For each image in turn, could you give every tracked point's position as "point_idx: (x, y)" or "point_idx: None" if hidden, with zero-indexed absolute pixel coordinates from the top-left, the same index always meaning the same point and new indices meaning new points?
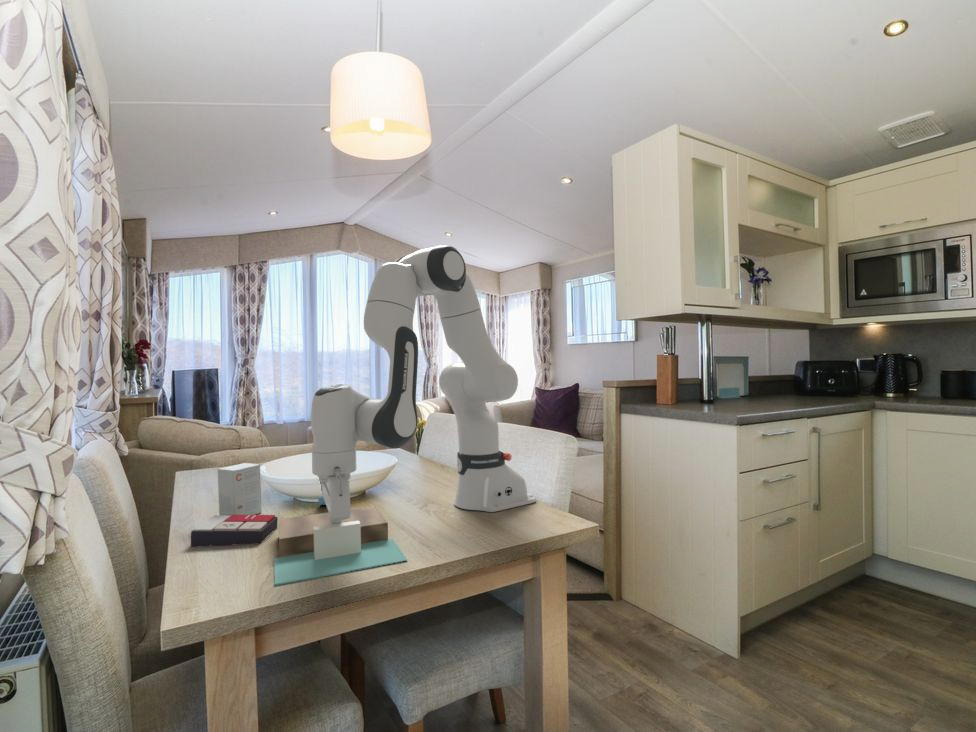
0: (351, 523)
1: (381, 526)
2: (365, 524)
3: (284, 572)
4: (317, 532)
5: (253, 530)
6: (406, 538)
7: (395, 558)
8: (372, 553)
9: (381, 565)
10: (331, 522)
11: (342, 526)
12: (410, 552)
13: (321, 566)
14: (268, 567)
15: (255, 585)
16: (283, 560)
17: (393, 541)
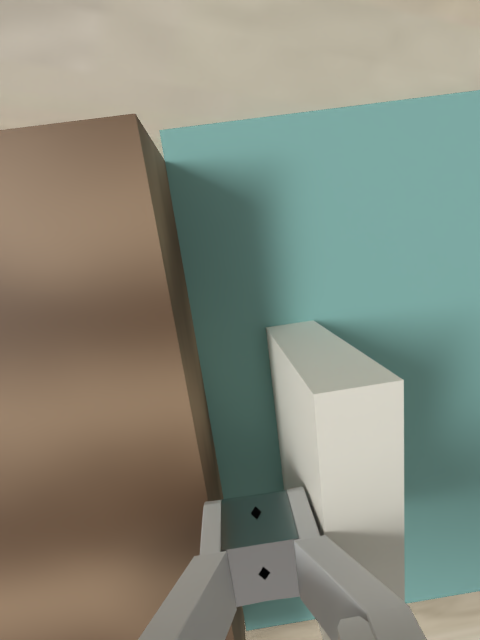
0: (368, 453)
1: (152, 182)
2: (133, 310)
3: None
4: None
5: None
6: (155, 34)
7: (469, 150)
8: (350, 265)
9: None
10: (269, 593)
11: (402, 512)
12: (395, 49)
13: (405, 472)
14: (312, 625)
15: (444, 630)
16: (284, 600)
17: (211, 130)
